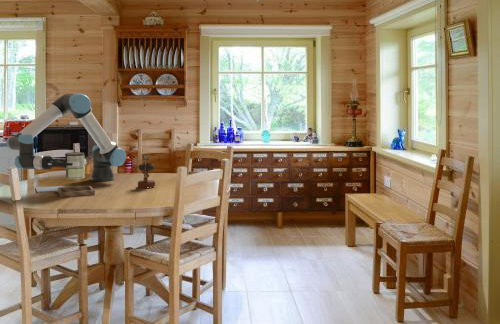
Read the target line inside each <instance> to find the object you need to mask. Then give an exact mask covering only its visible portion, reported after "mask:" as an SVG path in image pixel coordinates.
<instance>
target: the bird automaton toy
mask: <svg viewBox="0 0 500 324" xmlns="http://www.w3.org/2000/svg"><path fill="white" fill-rule="evenodd" d="M142 161H143V163H140V164H138V170H139V171H140V172H141V171H142V174H143V179H141V180H138V181H137V188H138V187H141V188H140V189H148V188H147V187H154V186H155V187H156V181H155V180H153V179H148V178H149V177H150V174H149V172H150V171H154V168H155V165H154V163H149V161H150V156H149V155H148V154H146V155H144V157H143V158H142ZM155 187H154V188H155Z"/></svg>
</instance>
